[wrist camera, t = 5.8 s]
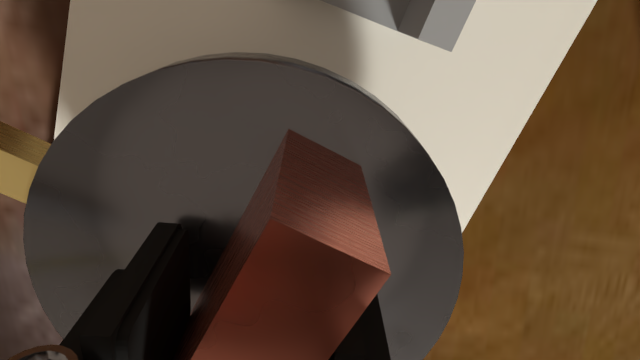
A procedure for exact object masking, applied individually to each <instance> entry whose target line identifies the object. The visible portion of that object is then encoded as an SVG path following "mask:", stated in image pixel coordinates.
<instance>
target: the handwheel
mask: <svg viewBox="0 0 640 360" xmlns="http://www.w3.org/2000/svg"><path fill="white" fill-rule="evenodd" d="M0 193H2V194H4V195H6V196H9V197H11V198H14V199H16V200H19V201H21V202H23V203H26V208H25V213H24V234H23V241H24V249H25V256H26V264H27V267H28V271H29V274H30V278H31V281H32V285H33V288H34V290H35V292H36V294H37V297H38V299H39V301H40V303H41V305H42V308H43V310H44V311H45V313H46V315H47V316H48V318H49V319H50V321H51V323H52V324H53V326H54V327H55V329H56V330H57V332H58V333H59V334H60V335H61V337H62V338H63V339H64V338H65V337H66V335H67V334H68V333H69V331H70V330H71V329H72V327H73V326H74V325H75V323H76V322H77V320H78V319H79V318H80V316H81V315H82V314H83V312H84V311H85V310H86V308H87V307H88V305H89V304H90V303H91V301H92V300H93V299H94V297H95V296H96V295H97V293H98V292H99V290H100V289H101V288H102V286H103V285H104V284H105V282H106V281H107V280H108V278H109V277H110V275H111V274H112V273H113V272H114V271H115V270H117V269H125V268H126V267H127V265H128V264H129V262H130V261H131V260H132V258H133V257H134V255H135V254H136V252H137V251H138V250H139V248H140V247H141V245H142V244H143V242H144V241H145V240H146V238H147V237H148V235H149V234H150V232H151V231H152V230H153V228H154V227H155V225H156V224H157V223H158V222H164V223H176V224H181V226H182V229H183V230H188V232H189V259H190V297H191V313H190V318H189V321H188V323H187V326H186V328H185V331H184V333H183V336H182V338H181V341H180V343H179V346H178V349H177V351H176V354H175V356H174V359H173V360H328V359H329V358H330V357H331V355H332V354H333V353H334V351H335V350H336V349H337V347H338V346H339V344H340V343H341V342H342V340H343V339H344V338H345V336H346V335H347V334H348V332H349V331H350V330H351V328H352V327H353V326H354V324H355V323H356V322H357V320H358V319H359V317H360V316H361V315H362V313H363V312H364V311H365V309H366V308H367V307H368V305H369V304H370V303H371V301H372V300H373V299H374V297H375V296H376V294H377V295H378V299H379V304H380V309H381V314H382V319H383V324H384V328H385V333H386V338H387V343H388V348H389V353H390V357H391V360H422V359H423V358H424V357H425V356H426V355H427V354H428V352H429V351H430V350H431V348H432V347H433V346H434V344H435V343H436V342H437V340H438V339H439V337H440V335H441V334H442V332H443V330H444V328H445V326H446V325H447V323H448V321H449V319H450V317H451V314H452V311H453V309H454V306H455V303H456V301H457V298H458V293H459V289H460V284H461V279H462V272H463V255H464V251H463V241H462V231H461V225H460V221H459V218H458V214H457V210H456V206H455V203H454V200H453V198H452V196H451V194H450V191H449V189H448V187H447V184H446V182H445V180H444V178H443V176H442V175H441V173H440V172H439V170H438V168H437V167H436V165H435V164H434V162H433V161H432V159H431V157H430V156H429V154H428V153H427V152H426V150H425V149H424V147H423V146H422V145H421V143H420V142H419V141H418V139H417V138H416V137H415V135H414V134H413V133H412V132H411V131H410V129H409V128H408V127H407V126H406V125H405V124H404V122H403V121H402V120H401V119H400V118H399V117H398V116H397V114H395V113H394V112H393V111H392V110H391V109H390V108H389V107H387V106H386V105H385V104H384V103H383V102H382V101H381V100H379V99H378V98H377V97H376V96H374V95H373V94H371V93H370V92H368V91H367V90H365V89H364V88H362V87H361V86H359V85H358V84H356V83H355V82H353V81H351V80H349V79H347V78H345V77H343V76H341V75H339V74H337V73H335V72H332V71H330V70H328V69H326V68H324V67H321V66H317V65H314V64H311V63H308V62H305V61H302V60H299V59H295V58H290V57H284V56H278V55H273V54H267V53H247V52H230V53H219V54H209V55H202V56H198V57H194V58H190V59H186V60H182V61H177V62H174V63H172V64H169V65H167V66H164V67H162V68H159V69H157V70H154V71H152V72H149V73H147V74H145V75H142V76H140V77H138V78H135V79H133V80H131V81H129V82H126V83H124V84H122V85H120V86H119V87H117V88H115V89H113V90H112V91H110V92H108V93H107V94H105V95H103V96H102V97H100V98H98V99H96V100H95V101H94V102H93V103H91V104H90V105H89V106H88V107H87V108H85V109H84V110H83V111H82V112H80V113H79V114H78V115H77V116H76V117H74V118H73V119H72V120H71V121H70V122H69V124H68V125H67V126H66V127H65V128H64V129H63V130H62V132H61V133H60V134H59V135H58V136H57V137H56V139H55V140H54V141H53V142H52V144H50V143H48V142H45V141H43V140H41V139H39V138H37V137H34V136H32V135H30V134H28V133H25V132H23V131H21V130H19V129H16V128H14V127H12V126H10V125H8V124H5V123H3V122H1V121H0Z"/></svg>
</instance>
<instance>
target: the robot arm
mask: <svg viewBox="0 0 640 360" xmlns="http://www.w3.org/2000/svg"><path fill="white" fill-rule="evenodd" d="M190 313H191V297H190V259H189V232H188V230H183V229H182V226H181V224H176V223H164V222H158V223H157V224H156V225H155V227H154V228H153V230H152V231H151V232H150V234H149V235H148V237H147V238H146V240H145V241H144V242H143V244H142V245H141V247H140V248H139V250H138V251H137V252H136V254H135V255H134V257H133V258H132V260H131V261H130V262H129V264H128V265H127V267H126V268H125V269H117V270H115V271H114V272H113V273H112V274H111V275H110V277H109V278H108V280H107V281H106V282H105V284H104V285H103V286H102V288H101V289H100V290H99V292H98V293H97V295H96V296H95V297H94V299H93V300H92V301H91V303H90V304H89V305H88V307H87V308H86V310H85V311H84V312H83V314H82V315H81V316H80V318H79V319H78V320H77V322H76V323H75V325H74V326H73V327H72V329H71V330H70V331H69V333H68V334H67V335H66V337H65V338H64V340H63V341H62V342H61V344H60V345H45V346H37V347H34V348H31V349H28V350H25V351H22V352H21V353H19V354H17V355H15V356H13V357H11V358H9V359H8V360H173V359H174V356H175V354H176V351H177V349H178V346H179V343H180V341H181V338H182V336H183V333H184V331H185V328H186V326H187V323H188V321H189V318H190ZM328 360H391V357H390V353H389V348H388V343H387V338H386V333H385V328H384V324H383V319H382V314H381V309H380V304H379V299H378V295H377V294H376V296H375V297H374V299H373V300H372V301H371V303H370V304H369V305H368V307H367V308H366V309H365V311H364V312H363V313H362V315H361V316H360V317H359V319H358V320H357V322H356V323H355V324H354V326H353V327H352V328H351V330H350V331H349V332H348V334H347V335H346V336H345V338H344V339H343V340H342V342H341V343H340V344H339V346H338V347H337V349H336V350H335V351H334V353H333V354H332V355H331V357H330V358H329V359H328Z"/></svg>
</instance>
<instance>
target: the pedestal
mask: <svg viewBox="0 0 640 360" xmlns="http://www.w3.org/2000/svg"><path fill="white" fill-rule="evenodd" d="M596 2H597V0H70V7H69V16H68V24H67V33H66V41H65V50H64V58H63V67H62V75H61V84H60V92H59V101H58V109H57V117H56V126H55V134H54V140H55V139H56V137H57V136H58V135H59V134H60V133H61V132H62V130H63V129H64V128H65V127H66V126H67V125H68V124H69V122H70V121H71V120H72V119H73V118H74V117H76V116H77V115H78V114H79V113H80V112H82V111H83V110H84V109H85V108H87V107H88V106H89V105H90V104H91V103H93V102H94V101H95V100H96V99H98V98H100V97H102V96H103V95H105V94H107V93H108V92H110V91H112V90H113V89H115V88H117V87H119V86H120V85H122V84H124V83H126V82H129V81H131V80H133V79H135V78H138V77H140V76H142V75H145V74H147V73H149V72H152V71H154V70H157V69H159V68H162V67H164V66H167V65H169V64H172V63H174V62H177V61H182V60H186V59H190V58H194V57H198V56H202V55H209V54H219V53H230V52H247V53H267V54H273V55H278V56H284V57H290V58H295V59H299V60H302V61H305V62H308V63H311V64H314V65H317V66H321V67H324V68H326V69H328V70H330V71H332V72H335V73H337V74H339V75H341V76H343V77H345V78H347V79H349V80H351V81H353V82H355V83H356V84H358V85H359V86H361V87H362V88H364V89H365V90H367V91H368V92H370V93H371V94H373V95H374V96H376V97H377V98H378V99H379V100H381V101H382V102H383V103H384V104H385V105H386V106H387V107H389V108H390V109H391V110H392V111H393V112H394V113H395V114H397V116H398V117H399V118H400V119H401V120H402V121H403V122H404V124H405V125H406V126H407V127H408V128H409V129H410V131H411V132H412V133H413V134H414V135H415V137H416V138H417V139H418V141H419V142H420V143H421V145H422V146H423V147H424V149H425V150H426V152H427V153H428V154H429V156H430V157H431V159H432V161H433V162H434V164H435V165H436V167H437V168H438V170H439V172H440V173H441V175H442V176H443V178H444V180H445V182H446V184H447V187H448V189H449V191H450V194H451V196H452V198H453V200H454V203H455V206H456V210H457V214H458V218H459V221H460V225H461V231H462V232H463V230H464V229H465V227H466V225H467V223H468V222H469V220H470V218H471V217H472V215H473V213H474V211H475V210H476V208H477V206H478V204H479V203H480V201H481V199H482V198H483V196H484V194H485V192H486V191H487V189H488V187H489V186H490V184H491V182H492V180H493V179H494V177H495V175H496V174H497V172H498V170H499V168H500V167H501V165H502V163H503V162H504V160H505V158H506V156H507V155H508V153H509V151H510V150H511V148H512V146H513V144H514V143H515V141H516V139H517V138H518V136H519V134H520V132H521V131H522V129H523V127H524V125H525V124H526V122H527V120H528V119H529V117H530V115H531V113H532V112H533V110H534V108H535V107H536V105H537V103H538V101H539V100H540V98H541V96H542V95H543V93H544V91H545V89H546V88H547V86H548V84H549V83H550V81H551V79H552V77H553V76H554V74H555V72H556V71H557V69H558V67H559V65H560V64H561V62H562V60H563V58H564V57H565V55H566V53H567V52H568V50H569V48H570V46H571V45H572V43H573V41H574V40H575V38H576V36H577V34H578V33H579V31H580V29H581V28H582V26H583V24H584V22H585V21H586V19H587V17H588V16H589V14H590V12H591V10H592V9H593V7H594V5H595V4H596Z"/></svg>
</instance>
